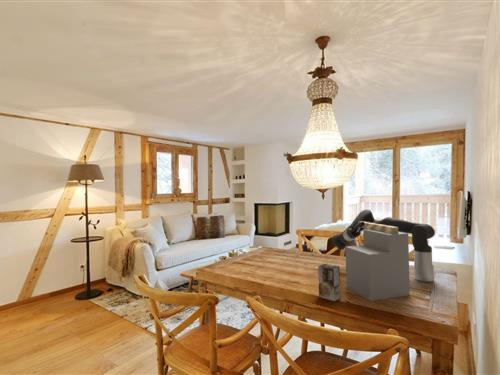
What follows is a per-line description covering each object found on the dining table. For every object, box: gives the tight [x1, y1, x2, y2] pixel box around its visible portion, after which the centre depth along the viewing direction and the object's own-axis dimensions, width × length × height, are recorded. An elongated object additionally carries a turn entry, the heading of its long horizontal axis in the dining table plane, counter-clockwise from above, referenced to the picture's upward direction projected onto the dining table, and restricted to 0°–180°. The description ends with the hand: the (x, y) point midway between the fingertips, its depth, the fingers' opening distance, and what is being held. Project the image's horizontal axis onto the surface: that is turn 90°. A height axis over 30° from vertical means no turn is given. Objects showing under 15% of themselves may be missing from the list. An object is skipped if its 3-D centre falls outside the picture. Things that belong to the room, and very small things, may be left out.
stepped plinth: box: [344, 229, 411, 302], centre depth 151 cm, size 20×24×32 cm
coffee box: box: [317, 263, 341, 302], centre depth 143 cm, size 9×6×16 cm
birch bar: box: [358, 221, 398, 234], centre depth 158 cm, size 28×3×3 cm, turn 16°
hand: (366, 222), depth 166 cm, fingers closed on birch bar, 3 cm apart
